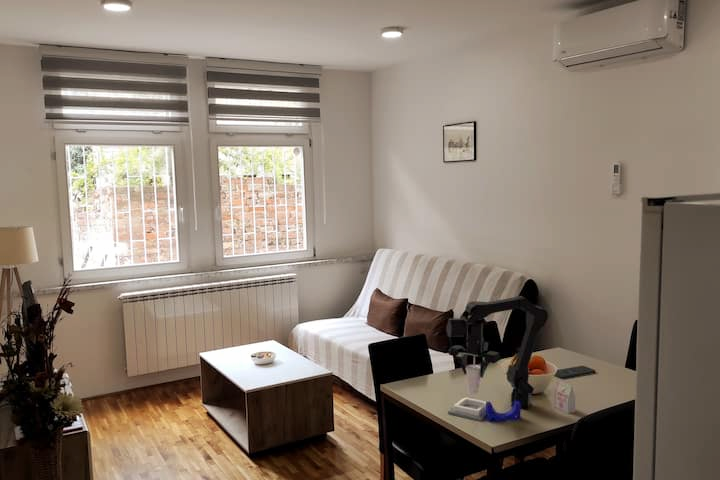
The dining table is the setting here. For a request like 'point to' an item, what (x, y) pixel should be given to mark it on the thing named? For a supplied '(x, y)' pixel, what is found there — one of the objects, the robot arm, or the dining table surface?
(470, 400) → the socket plate
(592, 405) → the dining table surface
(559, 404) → the milk carton
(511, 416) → the cable clip
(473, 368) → the smoothie
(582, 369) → the smart home device
